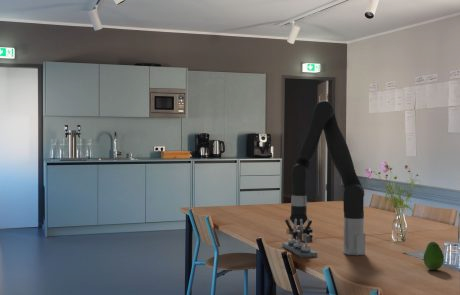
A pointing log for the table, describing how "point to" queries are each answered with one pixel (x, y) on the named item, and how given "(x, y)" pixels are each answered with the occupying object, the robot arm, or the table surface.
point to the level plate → (299, 250)
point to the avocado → (433, 256)
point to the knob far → (292, 241)
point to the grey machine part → (307, 231)
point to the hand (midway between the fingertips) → (298, 239)
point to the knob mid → (298, 239)
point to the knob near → (306, 239)
